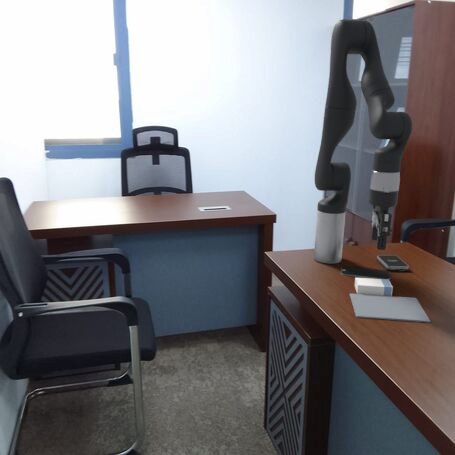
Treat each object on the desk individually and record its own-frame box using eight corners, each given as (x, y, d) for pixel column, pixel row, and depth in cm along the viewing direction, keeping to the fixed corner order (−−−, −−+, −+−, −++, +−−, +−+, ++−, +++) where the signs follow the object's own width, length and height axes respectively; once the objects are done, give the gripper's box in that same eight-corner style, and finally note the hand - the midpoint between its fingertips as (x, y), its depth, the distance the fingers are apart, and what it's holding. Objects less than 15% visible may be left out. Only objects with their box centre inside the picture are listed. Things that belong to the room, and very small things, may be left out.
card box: (357, 294, 132) (358, 285, 132) (354, 286, 138) (355, 277, 137) (391, 296, 131) (392, 287, 131) (387, 288, 137) (388, 279, 136)
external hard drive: (387, 272, 150) (388, 266, 149) (376, 260, 161) (376, 255, 160) (408, 272, 150) (409, 266, 150) (395, 260, 161) (396, 255, 160)
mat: (349, 294, 132) (349, 293, 132) (415, 299, 129) (416, 297, 129) (356, 317, 118) (356, 315, 118) (430, 322, 116) (430, 321, 116)
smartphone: (341, 265, 153) (389, 270, 149) (341, 267, 154) (389, 272, 150) (340, 273, 146) (390, 279, 142) (340, 276, 146) (390, 281, 143)
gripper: (365, 182, 134) (360, 236, 138) (374, 192, 120) (368, 251, 124) (393, 183, 133) (386, 237, 137) (404, 193, 119) (397, 253, 124)
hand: (378, 244), depth 131 cm, fingers open, 8 cm apart
